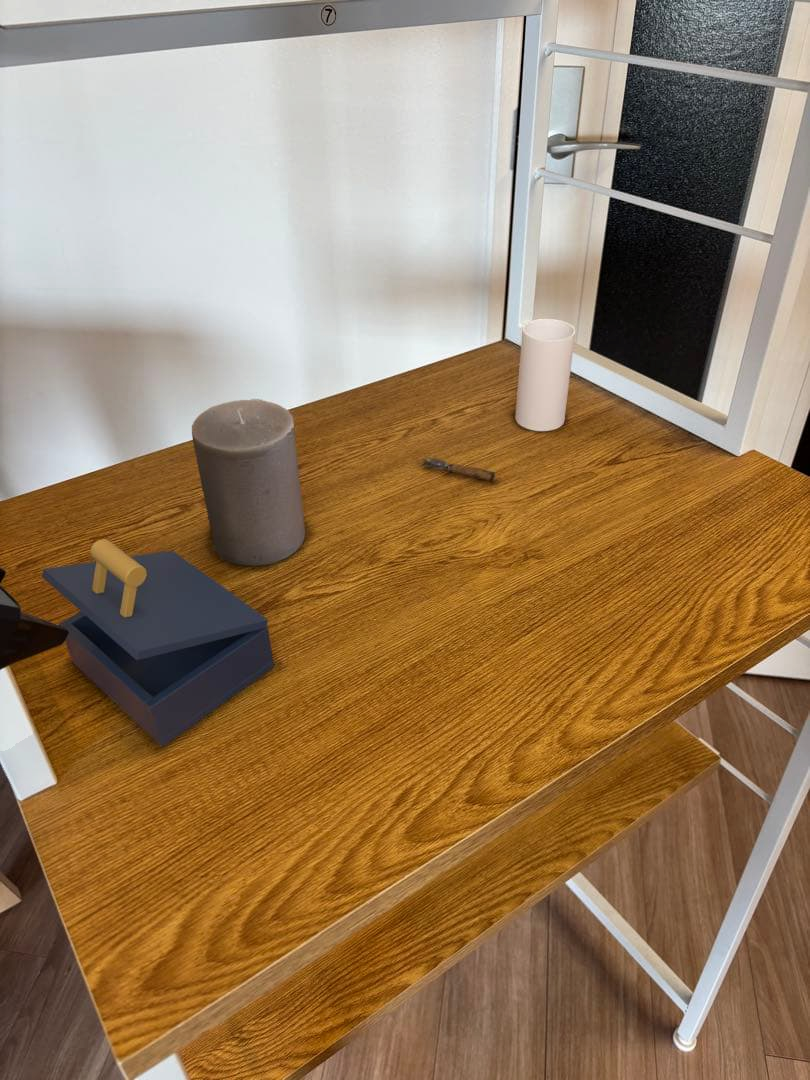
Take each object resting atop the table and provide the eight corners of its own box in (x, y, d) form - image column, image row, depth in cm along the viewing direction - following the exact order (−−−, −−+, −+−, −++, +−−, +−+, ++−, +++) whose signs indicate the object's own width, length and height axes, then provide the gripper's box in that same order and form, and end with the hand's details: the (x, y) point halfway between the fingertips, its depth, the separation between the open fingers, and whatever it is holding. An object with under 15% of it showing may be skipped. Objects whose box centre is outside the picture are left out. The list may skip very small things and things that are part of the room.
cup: (505, 420, 105) (512, 331, 97) (532, 401, 108) (540, 314, 101) (547, 436, 101) (557, 345, 94) (573, 416, 105) (585, 327, 98)
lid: (136, 660, 60) (148, 597, 58) (41, 577, 67) (49, 518, 65) (266, 627, 69) (279, 572, 67) (171, 558, 76) (181, 506, 75)
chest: (162, 747, 66) (150, 708, 63) (72, 662, 73) (58, 623, 70) (274, 666, 72) (268, 627, 69) (182, 596, 80) (173, 558, 77)
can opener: (495, 478, 94) (496, 470, 93) (486, 489, 93) (487, 480, 92) (425, 458, 98) (425, 450, 97) (416, 468, 96) (416, 459, 95)
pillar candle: (204, 567, 83) (176, 438, 74) (222, 509, 90) (200, 386, 81) (301, 567, 83) (285, 438, 73) (311, 509, 90) (299, 385, 81)
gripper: (-76, 497, 41) (159, 563, 54) (-202, 377, 51) (22, 457, 64) (-180, 694, 41) (79, 713, 54) (-284, 536, 51) (-44, 584, 64)
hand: (32, 605), depth 59 cm, fingers open, 9 cm apart
